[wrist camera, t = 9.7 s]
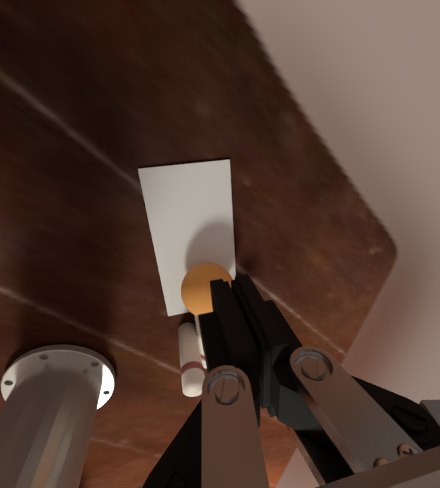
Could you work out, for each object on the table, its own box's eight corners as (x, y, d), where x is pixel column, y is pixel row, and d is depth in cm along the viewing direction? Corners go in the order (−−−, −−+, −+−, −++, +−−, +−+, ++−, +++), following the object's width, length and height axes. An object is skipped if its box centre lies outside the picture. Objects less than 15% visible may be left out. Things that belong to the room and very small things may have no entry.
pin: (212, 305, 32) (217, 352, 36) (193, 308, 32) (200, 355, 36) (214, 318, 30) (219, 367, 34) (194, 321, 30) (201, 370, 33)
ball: (243, 306, 24) (230, 250, 26) (180, 317, 23) (174, 259, 26) (237, 317, 29) (228, 269, 32) (187, 326, 29) (181, 277, 31)
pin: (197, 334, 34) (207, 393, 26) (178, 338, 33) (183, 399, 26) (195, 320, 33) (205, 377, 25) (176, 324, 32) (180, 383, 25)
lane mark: (236, 301, 33) (237, 302, 33) (168, 315, 31) (168, 316, 31) (229, 159, 25) (229, 159, 25) (137, 168, 24) (137, 168, 24)
